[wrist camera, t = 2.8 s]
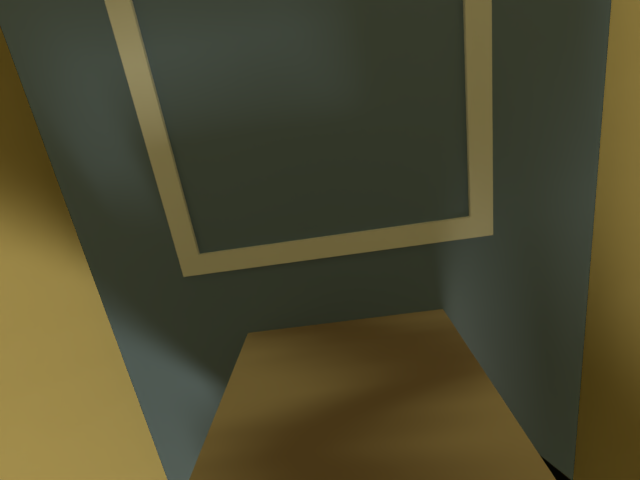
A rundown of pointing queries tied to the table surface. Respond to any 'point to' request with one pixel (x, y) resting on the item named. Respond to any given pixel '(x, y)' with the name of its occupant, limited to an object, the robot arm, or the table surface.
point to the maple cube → (364, 408)
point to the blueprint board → (326, 181)
